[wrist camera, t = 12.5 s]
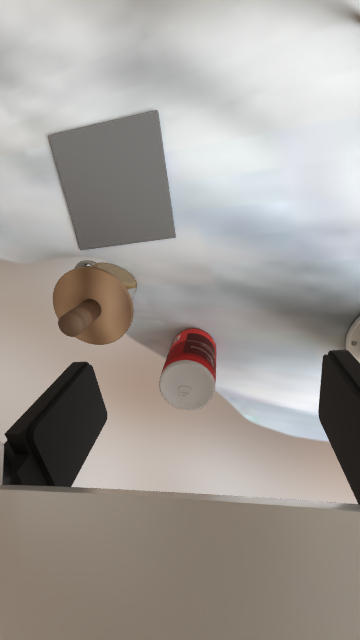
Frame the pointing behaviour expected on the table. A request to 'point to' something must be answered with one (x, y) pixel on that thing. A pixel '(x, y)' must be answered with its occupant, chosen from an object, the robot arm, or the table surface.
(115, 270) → the ceramic mug
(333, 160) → the table surface
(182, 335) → the canned food
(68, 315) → the lid
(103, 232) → the mat
